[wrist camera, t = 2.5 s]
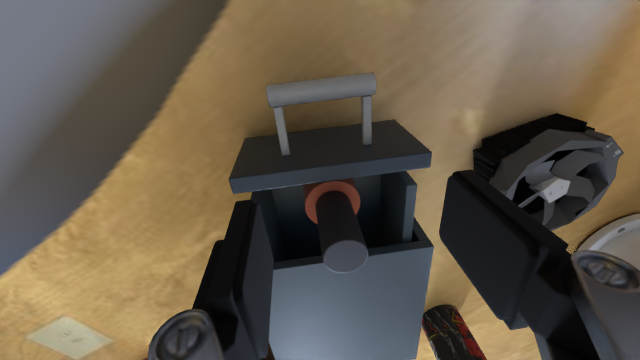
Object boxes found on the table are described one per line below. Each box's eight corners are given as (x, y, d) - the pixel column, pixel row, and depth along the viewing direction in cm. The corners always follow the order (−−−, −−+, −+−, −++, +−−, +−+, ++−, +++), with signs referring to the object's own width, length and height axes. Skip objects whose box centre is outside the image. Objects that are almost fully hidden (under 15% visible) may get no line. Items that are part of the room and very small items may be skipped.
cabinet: (257, 205, 28) (245, 274, 20) (394, 186, 28) (434, 246, 21) (283, 304, 36) (282, 380, 28) (389, 288, 37) (416, 359, 29)
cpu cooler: (503, 249, 27) (504, 164, 22) (470, 214, 32) (464, 139, 27) (610, 215, 26) (637, 119, 21) (558, 185, 31) (570, 102, 26)
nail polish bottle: (348, 153, 24) (382, 224, 15) (350, 194, 26) (380, 276, 17) (299, 159, 24) (305, 235, 15) (305, 200, 26) (313, 286, 17)
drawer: (229, 79, 21) (203, 101, 15) (397, 59, 21) (442, 72, 15) (276, 263, 31) (272, 322, 25) (389, 246, 32) (413, 301, 25)
